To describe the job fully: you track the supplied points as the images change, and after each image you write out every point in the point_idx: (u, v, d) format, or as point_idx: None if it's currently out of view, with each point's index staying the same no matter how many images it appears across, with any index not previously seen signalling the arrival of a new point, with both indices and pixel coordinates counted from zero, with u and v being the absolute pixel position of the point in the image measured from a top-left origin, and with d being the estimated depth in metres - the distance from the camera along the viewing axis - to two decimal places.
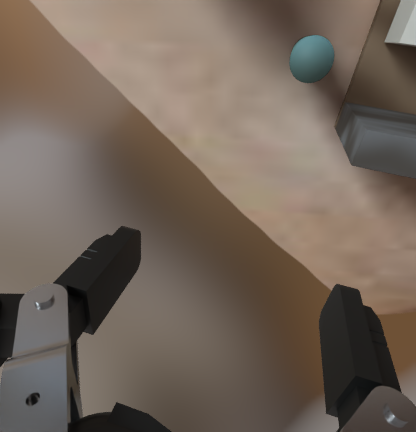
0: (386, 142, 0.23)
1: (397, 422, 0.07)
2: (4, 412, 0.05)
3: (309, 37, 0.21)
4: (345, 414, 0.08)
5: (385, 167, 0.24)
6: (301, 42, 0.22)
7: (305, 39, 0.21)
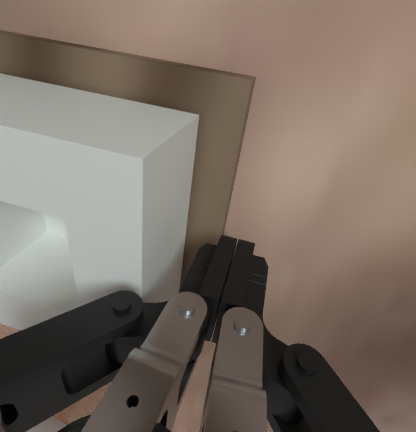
0: None
1: (239, 329, 0.08)
2: (110, 396, 0.06)
3: None
4: None
5: None
6: None
7: None
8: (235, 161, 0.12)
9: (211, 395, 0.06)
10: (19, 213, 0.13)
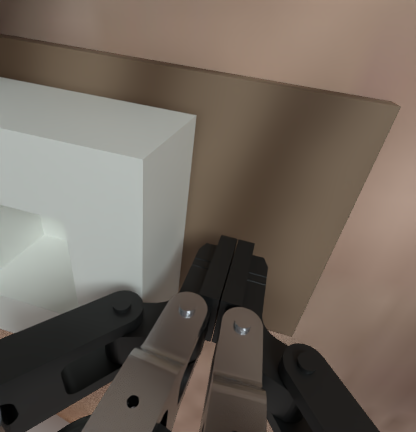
0: None
1: (238, 329, 0.08)
2: (110, 396, 0.06)
3: None
4: None
5: None
6: None
7: None
8: (360, 188, 0.12)
9: (211, 395, 0.06)
10: (16, 216, 0.13)
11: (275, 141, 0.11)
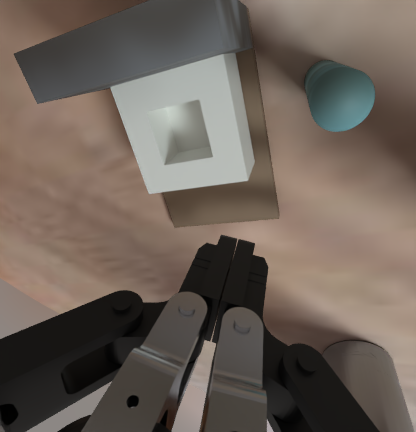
0: (189, 44, 0.15)
1: (239, 329, 0.08)
2: (110, 396, 0.06)
3: (353, 125, 0.16)
4: None
5: (164, 4, 0.15)
6: (363, 116, 0.16)
7: (358, 121, 0.16)
8: (250, 220, 0.33)
9: (211, 395, 0.06)
10: None
11: (255, 190, 0.31)
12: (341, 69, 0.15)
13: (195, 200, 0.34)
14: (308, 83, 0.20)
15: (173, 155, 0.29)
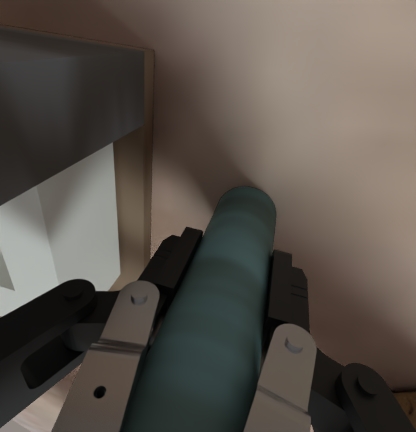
0: None
1: (292, 348, 0.08)
2: (75, 393, 0.06)
3: None
4: (262, 353, 0.09)
5: None
6: None
7: None
8: None
9: (253, 404, 0.06)
10: None
11: None
12: None
13: None
14: (183, 279, 0.10)
15: None
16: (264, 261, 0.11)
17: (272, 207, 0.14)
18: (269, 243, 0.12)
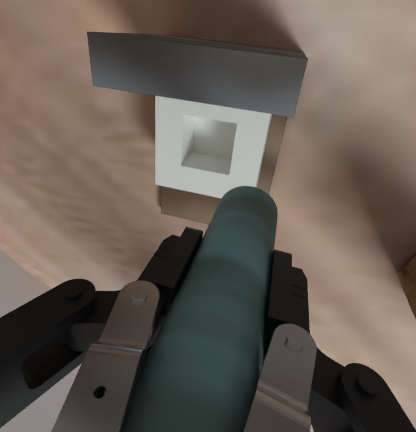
0: (265, 101, 0.17)
1: (292, 348, 0.08)
2: (75, 393, 0.06)
3: None
4: (263, 353, 0.09)
5: (258, 61, 0.16)
6: None
7: None
8: None
9: (253, 404, 0.06)
10: None
11: None
12: None
13: (190, 197, 0.36)
14: (185, 278, 0.10)
15: (188, 155, 0.30)
16: (265, 260, 0.11)
17: (273, 206, 0.14)
18: (270, 242, 0.12)
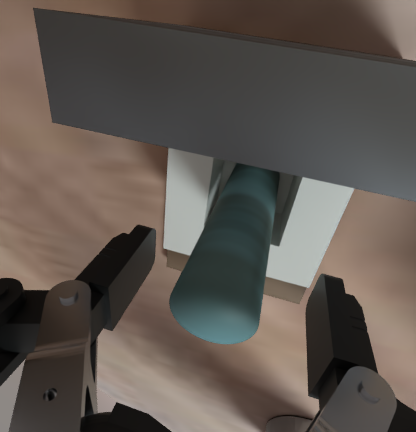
0: None
1: (370, 398, 0.07)
2: (22, 405, 0.06)
3: (222, 342, 0.11)
4: (325, 395, 0.08)
5: None
6: (236, 340, 0.10)
7: (229, 342, 0.11)
8: (265, 293, 0.27)
9: None
10: None
11: None
12: (223, 280, 0.09)
13: None
14: (214, 208, 0.14)
15: (213, 206, 0.20)
16: (271, 200, 0.15)
17: None
18: (274, 191, 0.16)
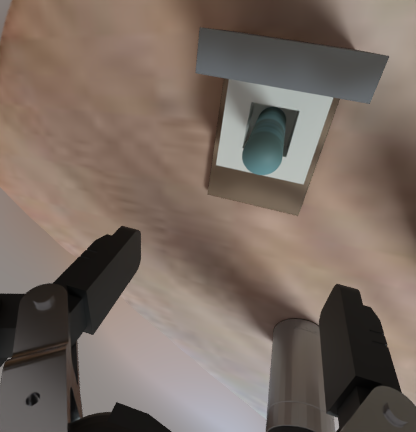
0: (347, 89, 0.20)
1: (397, 422, 0.07)
2: (4, 412, 0.05)
3: (264, 173, 0.24)
4: (345, 414, 0.08)
5: (347, 56, 0.20)
6: (271, 171, 0.24)
7: (268, 173, 0.24)
8: (275, 210, 0.40)
9: None
10: None
11: (291, 188, 0.38)
12: (267, 137, 0.22)
13: (237, 179, 0.39)
14: (254, 126, 0.27)
15: (245, 140, 0.33)
16: (283, 124, 0.28)
17: (284, 115, 0.32)
18: (284, 123, 0.30)
